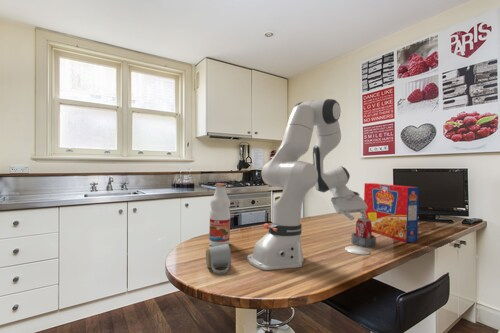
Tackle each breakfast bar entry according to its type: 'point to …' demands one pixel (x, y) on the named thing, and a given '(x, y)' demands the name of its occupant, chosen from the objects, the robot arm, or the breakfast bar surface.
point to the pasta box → (393, 210)
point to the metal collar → (363, 241)
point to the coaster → (357, 250)
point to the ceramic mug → (218, 258)
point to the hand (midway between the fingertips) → (359, 218)
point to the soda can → (364, 228)
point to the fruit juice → (219, 217)
